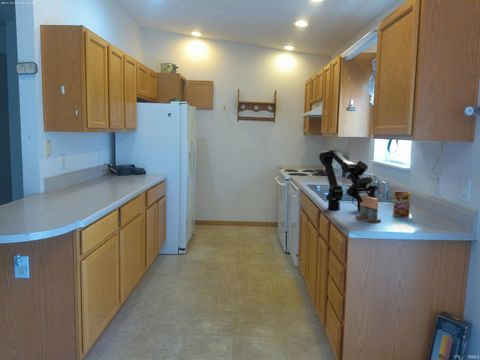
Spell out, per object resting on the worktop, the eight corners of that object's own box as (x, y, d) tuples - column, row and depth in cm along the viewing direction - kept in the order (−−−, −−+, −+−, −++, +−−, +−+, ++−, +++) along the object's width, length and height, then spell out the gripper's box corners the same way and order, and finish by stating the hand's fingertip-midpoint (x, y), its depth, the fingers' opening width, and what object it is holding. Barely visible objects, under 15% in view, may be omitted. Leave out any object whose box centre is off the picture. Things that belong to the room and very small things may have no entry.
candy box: (392, 216, 233) (394, 191, 232) (393, 214, 237) (395, 190, 235) (408, 217, 229) (410, 192, 227) (409, 216, 233) (411, 191, 231)
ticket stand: (355, 218, 226) (356, 205, 225) (364, 217, 229) (365, 204, 228) (370, 223, 214) (371, 209, 213) (380, 222, 217) (381, 209, 216)
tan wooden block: (359, 205, 225) (360, 195, 225) (363, 204, 226) (363, 195, 226) (374, 208, 214) (374, 199, 214) (377, 208, 215) (378, 198, 215)
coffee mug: (369, 210, 251) (370, 194, 249) (370, 212, 242) (371, 197, 241) (351, 208, 254) (351, 193, 253) (351, 211, 246) (352, 195, 244)
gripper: (350, 172, 220) (362, 194, 211) (376, 171, 227) (389, 192, 218) (341, 184, 228) (352, 205, 219) (366, 183, 235) (378, 204, 226)
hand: (368, 201), depth 220 cm, fingers open, 9 cm apart
